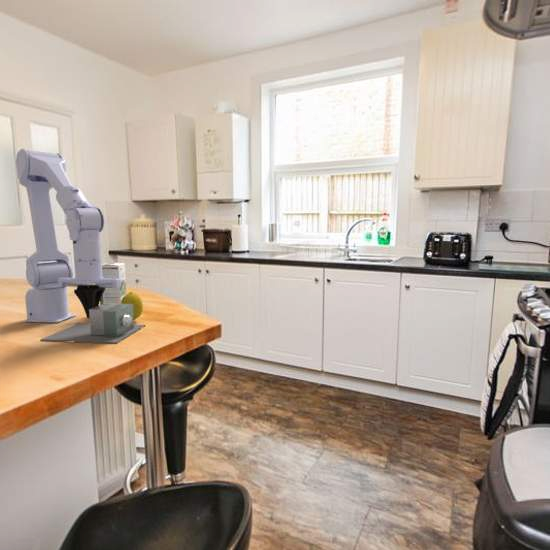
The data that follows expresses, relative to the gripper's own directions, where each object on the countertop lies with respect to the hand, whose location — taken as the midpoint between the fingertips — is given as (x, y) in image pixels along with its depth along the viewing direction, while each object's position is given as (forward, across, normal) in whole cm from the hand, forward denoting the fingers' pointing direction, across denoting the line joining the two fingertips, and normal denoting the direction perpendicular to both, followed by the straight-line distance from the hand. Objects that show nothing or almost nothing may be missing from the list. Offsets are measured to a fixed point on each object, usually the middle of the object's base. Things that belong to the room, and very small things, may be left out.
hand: (91, 316), depth 90 cm
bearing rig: (+4, +5, 0) cm, 6 cm away
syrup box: (+4, -5, +19) cm, 20 cm away
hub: (+4, +3, 0) cm, 5 cm away
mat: (+4, +1, 0) cm, 4 cm away
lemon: (+4, +4, +11) cm, 13 cm away
